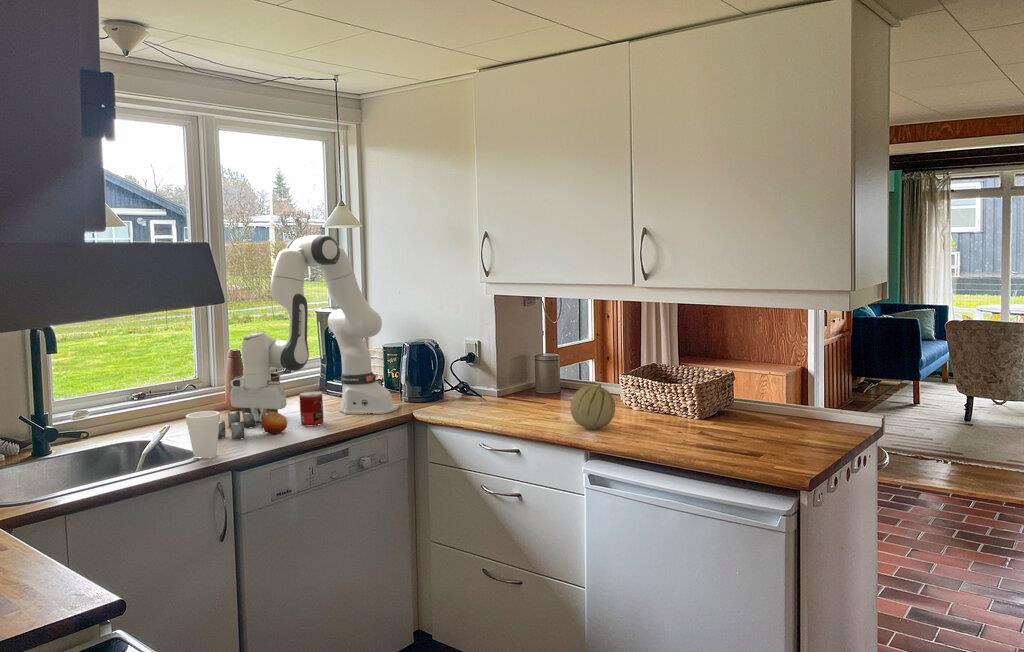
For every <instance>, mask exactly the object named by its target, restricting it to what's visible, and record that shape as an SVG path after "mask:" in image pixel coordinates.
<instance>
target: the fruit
mask: <svg viewBox="0 0 1024 652" xmlns="http://www.w3.org/2000/svg"><path fill="white" fill-rule="evenodd" d="M262 424H263V428H264V429H263V428H262V429H263V430H264V431H263V434H264V433H267V434H270V435H277V434H280V433H282V432H285V430H286V429H287V428H288V420H287V418H286V417H285V416H284V415H283V414H281V413H279V412H278V413H275V412H271V413H268V414H267V415H266V416H265V417H264V418H263V420H262Z"/></svg>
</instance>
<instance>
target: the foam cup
mask: <svg viewBox="0 0 1024 652" xmlns="http://www.w3.org/2000/svg"><path fill="white" fill-rule="evenodd" d="M220 418H221V416H220V412H219V411H215V410H203V411H196V412H195V411H194V412H191V413H188V414H186V415H185V423H186V426H187V430H188V435H189V440H190V444H191V448H192V453H193V456H194V457H202V458H209V457H213V456H215V457H217V456H216V455H218V454H217V453H218V446H219V445H218V444H219V438H218V431H219V421H221V419H220ZM213 458H214V457H213ZM209 459H210V458H209Z"/></svg>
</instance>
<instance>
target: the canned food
mask: <svg viewBox="0 0 1024 652" xmlns="http://www.w3.org/2000/svg"><path fill="white" fill-rule="evenodd" d="M323 404H324V403H323V392H322V391H304V392H301V393H299V411H300V423H301V425H302V426H303V425H317V426H319V425H318V424H321V425H323V424H324V405H323ZM322 423H323V424H322Z"/></svg>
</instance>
